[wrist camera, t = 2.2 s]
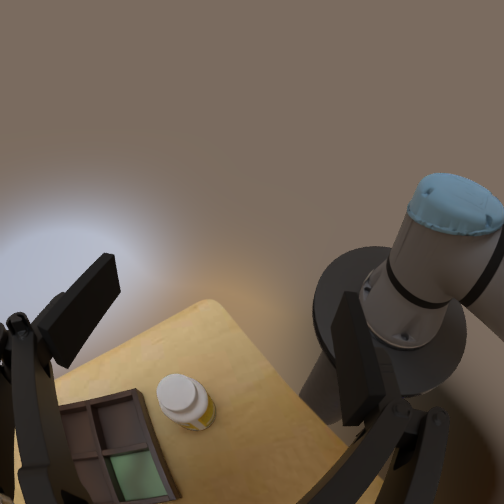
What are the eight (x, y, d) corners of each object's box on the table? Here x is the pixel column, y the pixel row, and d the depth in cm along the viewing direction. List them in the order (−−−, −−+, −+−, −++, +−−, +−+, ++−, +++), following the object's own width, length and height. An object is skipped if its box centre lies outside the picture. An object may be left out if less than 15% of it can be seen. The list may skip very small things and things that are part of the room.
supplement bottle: (207, 387, 33) (192, 360, 26) (222, 423, 29) (212, 407, 22) (169, 399, 31) (143, 375, 24) (183, 436, 28) (159, 424, 21)
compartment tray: (142, 393, 31) (135, 387, 30) (181, 497, 21) (176, 499, 20) (55, 412, 27) (46, 407, 25) (80, 508, 17) (71, 508, 15)
